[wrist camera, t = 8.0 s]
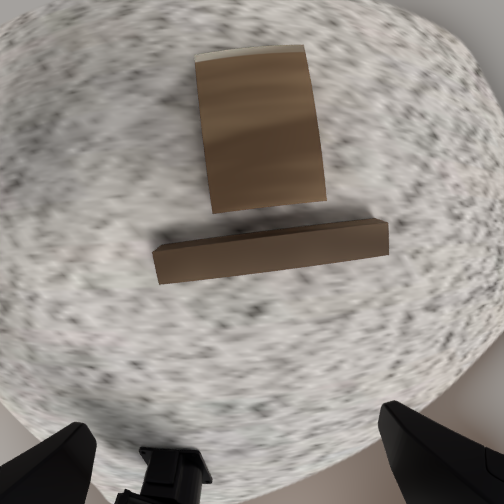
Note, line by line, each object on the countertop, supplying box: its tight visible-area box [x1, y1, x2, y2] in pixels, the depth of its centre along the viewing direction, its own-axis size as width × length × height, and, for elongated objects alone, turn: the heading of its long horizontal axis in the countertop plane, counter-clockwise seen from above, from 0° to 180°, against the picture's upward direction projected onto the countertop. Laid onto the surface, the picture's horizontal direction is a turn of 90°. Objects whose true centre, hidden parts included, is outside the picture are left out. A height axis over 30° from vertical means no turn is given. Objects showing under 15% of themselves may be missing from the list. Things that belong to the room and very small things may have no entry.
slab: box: [194, 45, 327, 214], centre depth 15 cm, size 3×6×9 cm
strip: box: [152, 218, 389, 285], centre depth 17 cm, size 2×14×2 cm, turn 97°
